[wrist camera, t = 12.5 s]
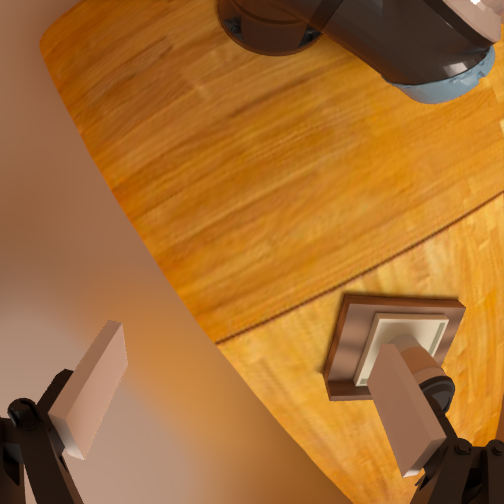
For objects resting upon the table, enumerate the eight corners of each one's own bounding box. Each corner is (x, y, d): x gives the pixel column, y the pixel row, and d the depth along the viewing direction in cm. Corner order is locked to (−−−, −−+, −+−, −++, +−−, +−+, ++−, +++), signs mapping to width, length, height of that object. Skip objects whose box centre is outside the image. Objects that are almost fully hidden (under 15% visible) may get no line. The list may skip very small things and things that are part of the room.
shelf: (344, 294, 49) (357, 317, 43) (458, 300, 50) (477, 318, 43) (322, 374, 55) (329, 401, 48) (428, 371, 56) (441, 392, 49)
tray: (375, 312, 47) (379, 318, 45) (444, 314, 48) (449, 319, 46) (353, 379, 52) (355, 386, 50) (417, 376, 52) (421, 382, 51)
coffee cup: (365, 359, 50) (393, 423, 35) (401, 320, 47) (441, 379, 33) (397, 376, 51) (426, 434, 37) (430, 341, 49) (469, 395, 35)
